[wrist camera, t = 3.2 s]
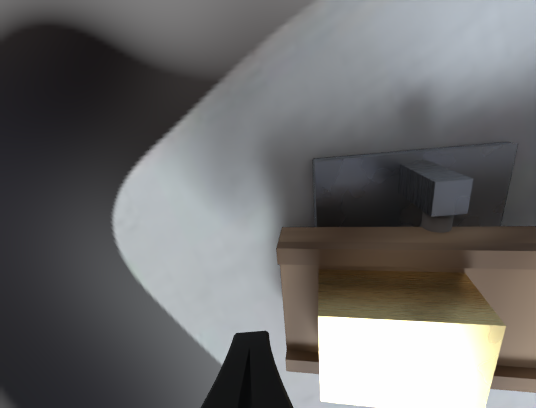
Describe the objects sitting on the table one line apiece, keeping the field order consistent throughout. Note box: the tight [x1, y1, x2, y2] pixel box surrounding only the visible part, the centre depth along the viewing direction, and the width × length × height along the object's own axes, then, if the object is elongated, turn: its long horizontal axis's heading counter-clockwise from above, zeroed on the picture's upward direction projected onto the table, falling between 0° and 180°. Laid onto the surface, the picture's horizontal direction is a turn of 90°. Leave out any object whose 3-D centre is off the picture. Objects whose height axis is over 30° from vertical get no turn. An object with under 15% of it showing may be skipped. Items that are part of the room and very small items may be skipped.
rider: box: [318, 269, 506, 408], centre depth 12 cm, size 6×4×3 cm
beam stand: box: [313, 142, 518, 227], centre depth 16 cm, size 10×13×4 cm
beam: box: [276, 211, 536, 393], centre depth 14 cm, size 18×8×3 cm, turn 94°
